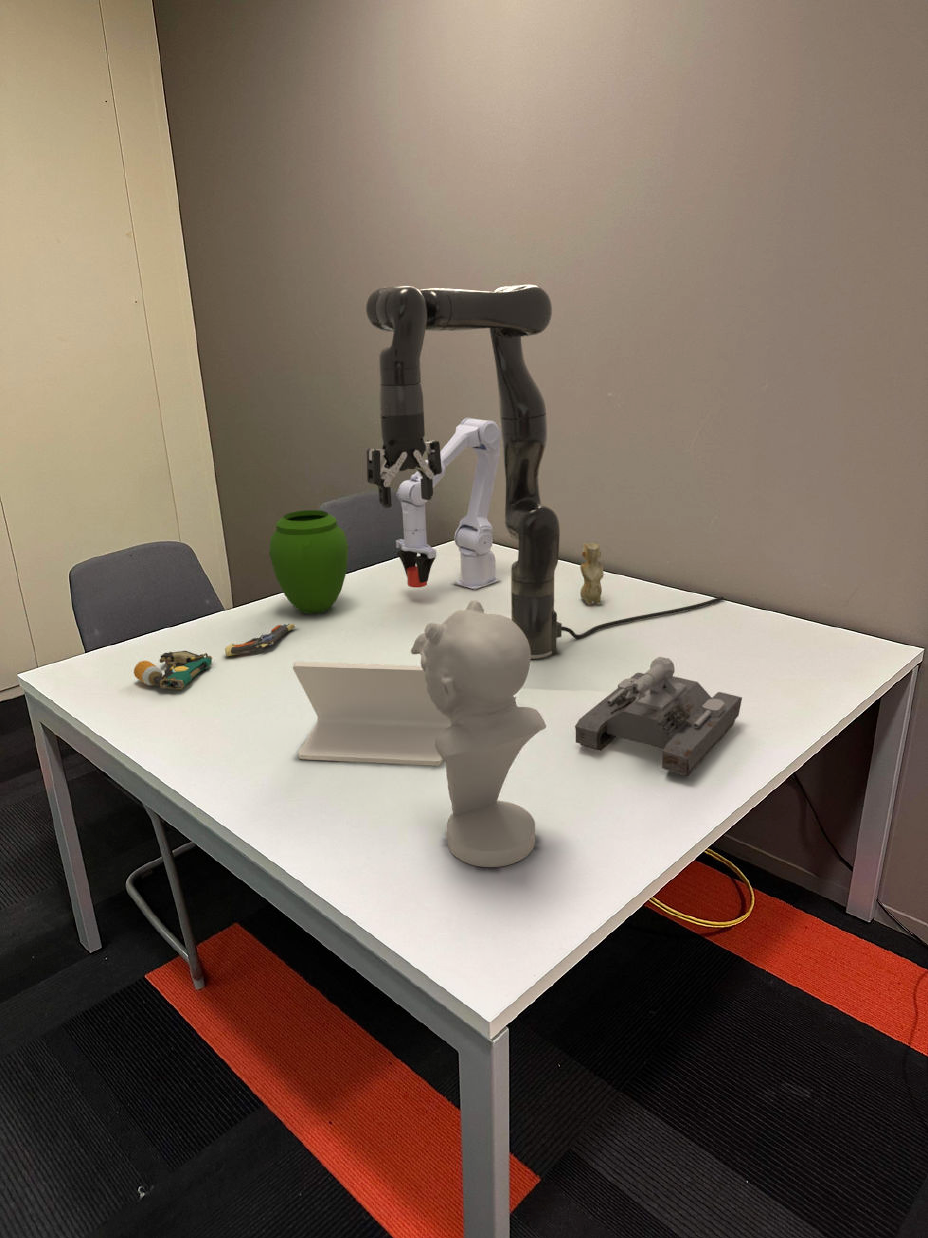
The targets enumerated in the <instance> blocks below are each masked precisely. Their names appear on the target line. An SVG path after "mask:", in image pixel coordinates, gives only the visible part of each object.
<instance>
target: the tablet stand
mask: <svg viewBox="0 0 928 1238" xmlns="http://www.w3.org/2000/svg"><path fill="white" fill-rule="evenodd" d="M292 665H293V666H292V670H293V671H294V673H295V675H296V677H297V679H298V681H299V683H300V685H301V687H302V689H303V692H304V694H305V695H306V697H307V699H308V700H309V703H310V704H311V706H312V708H313V711H314V712H315V714H316V716H317V721H316V724H315V725H314V727H313V728H312V731H311V732H310V734H309V735H308V736H307V738H306V739H305V741H304V742H303V745H301V748H300V749H299V750H298V759H300V760H311V761H312V760H314V761H333V762H334V761H335V762H353V763H354V762H355V763H377V764H396V765H398V764H399V765H417V766H440V765H442V763H443V759H442V758H441V756H440V755H439V753H438V752H437V750H436V747H435V740H436V737H437V736H438V735H439V734H440V733H441V732H442V731H443V730H445V729H446V728H448V727H450V726H451V720H450V719H449V718H448V717H447V716H446V715H443V714H442V713H441V712H440V711H439V710H438V709H437V708H436V706H435V704H434V703H433V702H432V701H431V698H430V695H429V693H428V691H427V683H426V681H425V671H424V670H423V669H422V667H421V665H412V664H410V665H409V664H408V665H407V664H377V663H375V664H374V663H346V662H344V663H343V662H317V661H316V662H315V661H313V662H312V661H295V662H293V664H292Z"/></svg>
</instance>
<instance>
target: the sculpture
mask: <svg viewBox="0 0 928 1238" xmlns="http://www.w3.org/2000/svg"><path fill="white" fill-rule="evenodd" d="M582 545H583V551H582V552H581V557H582V558H583V559H584V560H585V562H584V563H581V564H580V566H579V569H580V573H581V575H582V577H583V582H584V583H583V585H582V587H581V588H580V592H579V594H580V598H581V599H582V600H583V601H585V603H586V605H593V603H594V605H598V604H601V601H602V600H601V599H602V594H603V588H602V584H601V580H602V579H603V578H604V564H603V563H601V562H599V559H600V558H601V557H602V551H601V550H600V549H601V546H600V545H599V544H598V543H597V542H592V543H587V542H584V543H583V544H582Z"/></svg>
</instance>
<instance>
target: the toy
mask: <svg viewBox="0 0 928 1238" xmlns="http://www.w3.org/2000/svg"><path fill="white" fill-rule="evenodd" d="M649 665H650V666H649V669H648V670H647V671H645V672H644V673H643V672H636V673H634V674H633V675H632V676H631V677H628V678H624V679H623V680H622V681H620V682H619V683H618V684H617V688H616V689H614V691H612V692H611V693H610V694H609V695H607V696H606V697H605V698H603V699H602V700H601V701H600V702H598V703H597V704H595V706H593V707H592V708H591V709H590V710H589V711H587V712H586V713H585V714H583V716H581V717H580V718H579V719H578V721H577V722H576V724H575V725H574V729H575V743H577V744H579V746H582V747H586V748H588V749H592V750H595V751H598V752H602V751H603V750H604V749H605V748H606V747H607V746H609V745H610V744H612V742H613V741H614V740H615V739H616V738H621V739H625V740H629V741H632V742H635V743H638V744H642V745H646V746H648V747H649V746H650V747H652V748H656V749H660V750H662V759H661V769H663V770H666V771H669V772H673V773H676V774H679V775H683V776H687V777H689V776H690V775H691V774H692V772H694V771H695V769H696V768H697V767H698V766H699V765H700V763H701V762H702V761H703V760H704V759H705V758H706V757H707V756H708V754H709V753H710V752H712V750H713V749H714V748H715V746H717V744H719V742H720V741H721V740H722V739H723V737H724V736H725V735H726V734H727V733H728V732H729V731H730V729H732V727H733V726H734V725H735V722H736V719H738V717H739V715H740V711H741V706H742V700H743V697H742V696H738V695H735V694H730V693H726V692H721V691H718V692H716V693H715V694H714V695H713V696H711V695H710V694H709V692H707V690H705V688H704V687H703V686H702V685H701V684H700V683H699V682H698V681H695V680H692V679H687V678H683V677H678V676H674V675H675V673H676V672H675V664H674V661H672V660H671V659H670V658H669V657H663V656H662V657H661V656H658V657H656V658H655V659H654V660H652V661H651V663H650V664H649Z"/></svg>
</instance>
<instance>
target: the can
mask: <svg viewBox="0 0 928 1238" xmlns="http://www.w3.org/2000/svg"><path fill="white" fill-rule="evenodd" d="M406 578H407V587H408V588H409V587H410V588H416V589H417V588H423V587H426V586H428V581H427V582H423V583H421V582H420V581H419V575H418V569H417V565H416V566H413V567H409V568H408V569H407V575H406Z"/></svg>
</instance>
